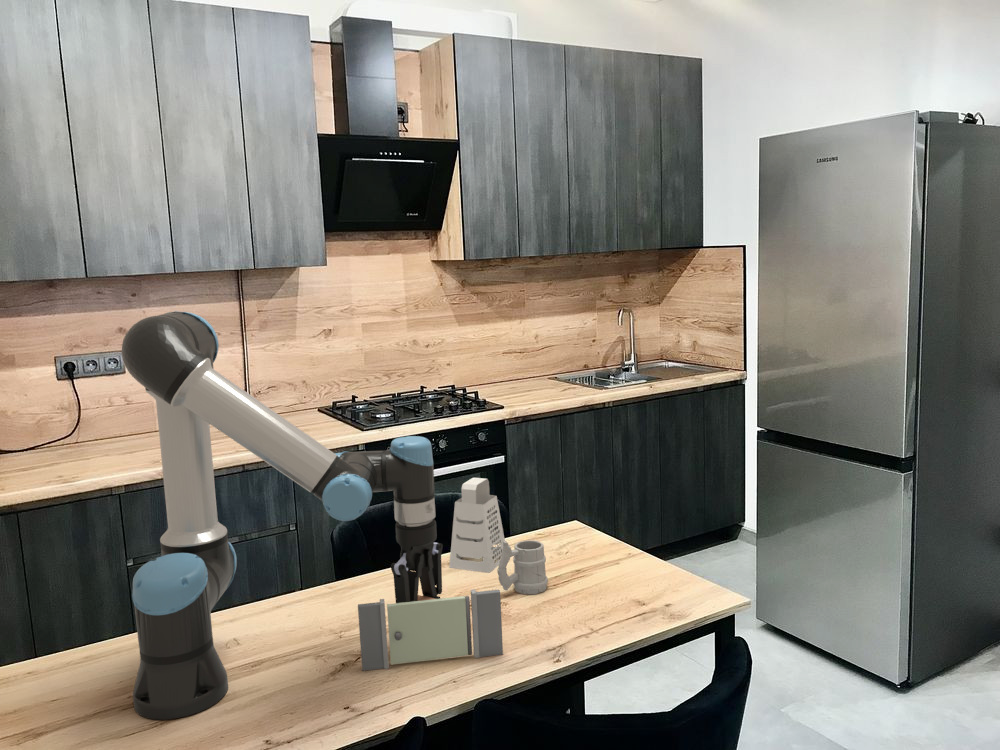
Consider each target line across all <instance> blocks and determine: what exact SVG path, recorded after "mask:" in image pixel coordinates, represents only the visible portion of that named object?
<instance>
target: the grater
mask: <svg viewBox="0 0 1000 750" xmlns="http://www.w3.org/2000/svg"><path fill="white" fill-rule="evenodd" d="M460 490H461V497H460V498H458V499H457V500H456V501H455V502H454V511H453V518H452V519H453V521H452V530H451V531H452V532H451V543H450V544H451V546H450V557H449V566H448V567H449V568H450V569H454V570H455V569H456V570H463V571H464V570H465V571H471V572H472V571H473V572H478V573H488V574H490V573H492V572H493V571H494V570H495V569H497V568H498V567H499V563H500V559H501V555H502V551H503V541H505V535H504V528H503V524H502V523H503V522H502V518H501V513H500V507H499V502H498V497H497V495H493V494H490V481H489V479H488V478H481V477H472V478H470V479H469V480H467V481H465V482H464V483H462V485H461V489H460ZM462 558H468V559H477V560H480V559H482V560H481V561H475V560H468V559H467V560H466V559H462Z"/></svg>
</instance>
